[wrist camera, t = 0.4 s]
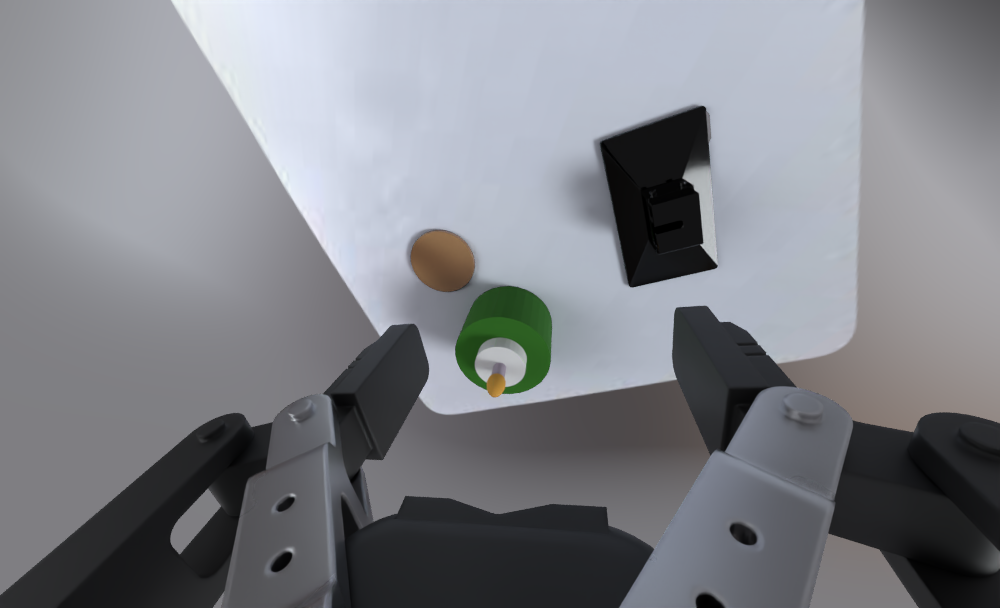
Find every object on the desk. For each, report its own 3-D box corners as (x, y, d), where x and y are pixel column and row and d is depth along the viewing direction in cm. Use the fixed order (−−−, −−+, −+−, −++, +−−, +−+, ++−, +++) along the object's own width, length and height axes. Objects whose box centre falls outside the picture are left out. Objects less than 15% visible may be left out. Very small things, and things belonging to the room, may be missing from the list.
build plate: (599, 141, 26) (606, 147, 22) (707, 103, 24) (737, 102, 20) (628, 286, 31) (638, 313, 27) (720, 265, 29) (745, 291, 25)
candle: (459, 292, 34) (425, 356, 26) (544, 280, 32) (539, 346, 24) (480, 359, 38) (456, 435, 29) (557, 353, 36) (556, 432, 27)
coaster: (408, 227, 32) (407, 229, 31) (474, 232, 31) (473, 233, 31) (415, 287, 35) (414, 289, 34) (475, 292, 34) (474, 294, 34)
